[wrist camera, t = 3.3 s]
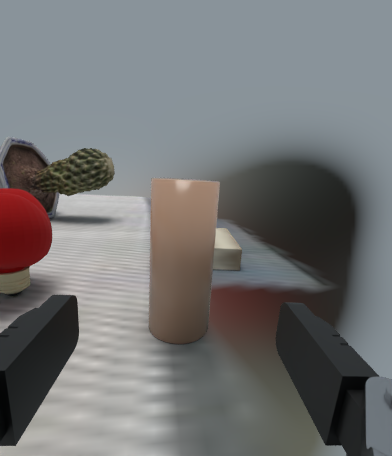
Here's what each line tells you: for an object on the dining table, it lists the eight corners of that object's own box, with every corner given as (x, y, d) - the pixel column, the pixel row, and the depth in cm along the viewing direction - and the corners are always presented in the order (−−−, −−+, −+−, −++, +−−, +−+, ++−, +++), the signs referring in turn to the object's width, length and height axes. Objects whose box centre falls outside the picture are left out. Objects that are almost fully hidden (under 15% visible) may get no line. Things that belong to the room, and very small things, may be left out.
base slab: (150, 267, 32) (150, 245, 31) (159, 241, 44) (159, 225, 43) (239, 270, 33) (242, 249, 32) (225, 244, 44) (226, 228, 44)
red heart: (52, 312, 21) (43, 196, 19) (-58, 331, 18) (-85, 195, 16) (58, 271, 29) (52, 187, 27) (-16, 279, 26) (-30, 185, 24)
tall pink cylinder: (144, 343, 18) (146, 179, 15) (152, 306, 23) (155, 177, 20) (211, 344, 18) (225, 183, 15) (205, 308, 23) (215, 180, 20)
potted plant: (-86, 143, 42) (85, 112, 42) (-7, 155, 59) (113, 133, 60) (-48, 240, 45) (110, 209, 46) (16, 224, 63) (130, 202, 63)
